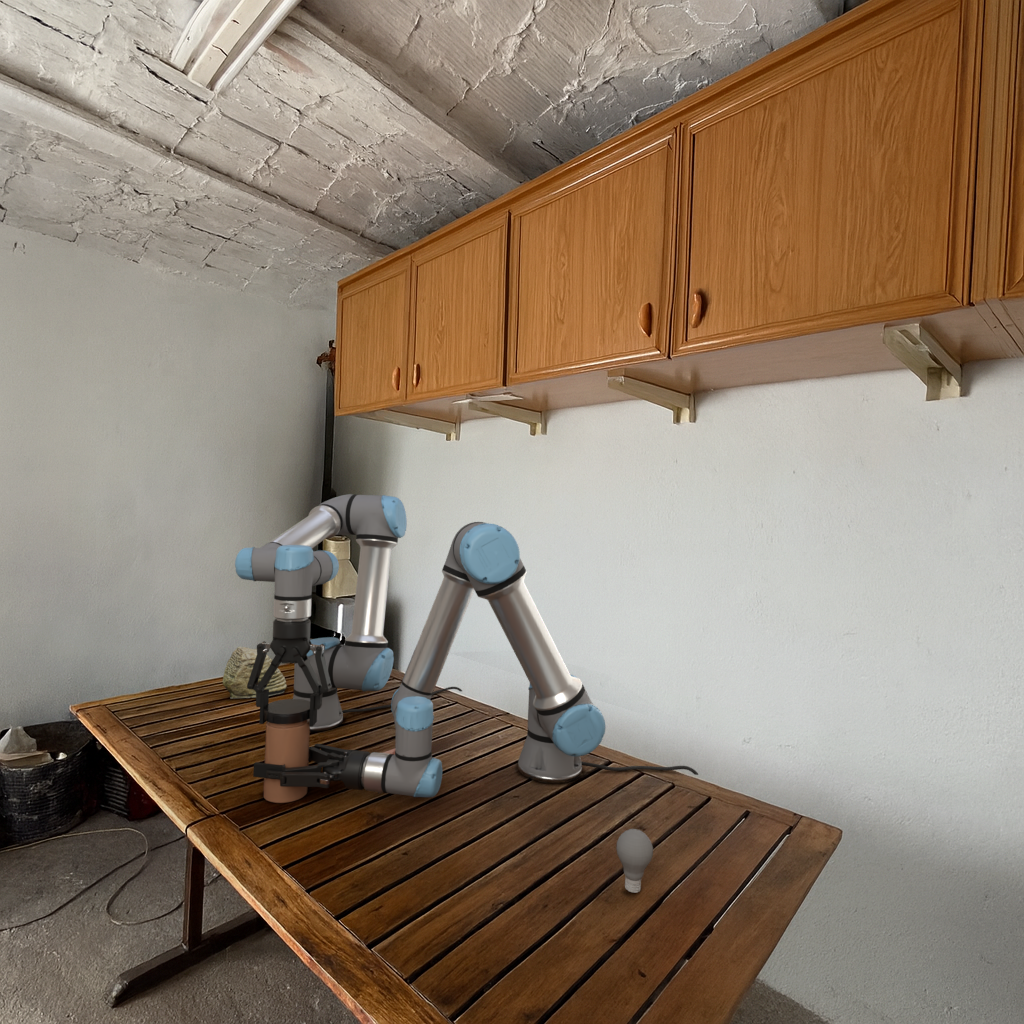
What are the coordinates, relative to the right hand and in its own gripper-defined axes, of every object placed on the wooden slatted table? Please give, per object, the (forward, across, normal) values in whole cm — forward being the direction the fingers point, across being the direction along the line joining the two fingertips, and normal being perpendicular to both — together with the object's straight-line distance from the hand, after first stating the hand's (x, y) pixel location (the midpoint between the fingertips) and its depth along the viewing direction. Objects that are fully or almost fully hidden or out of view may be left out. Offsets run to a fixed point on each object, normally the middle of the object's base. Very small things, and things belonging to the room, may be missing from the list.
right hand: (266, 760), depth 135 cm
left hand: (-5, 0, +8) cm, 10 cm away
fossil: (+37, +58, -7) cm, 69 cm away
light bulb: (-76, -19, -7) cm, 79 cm away
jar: (-5, 0, -7) cm, 8 cm away
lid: (-5, 0, +12) cm, 13 cm away
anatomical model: (-21, +20, -7) cm, 30 cm away
